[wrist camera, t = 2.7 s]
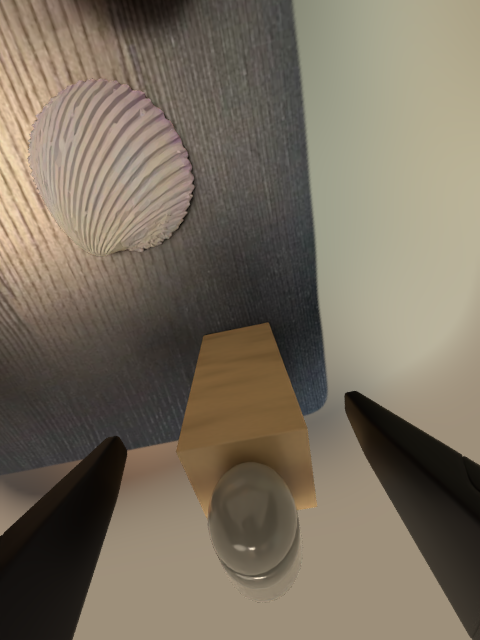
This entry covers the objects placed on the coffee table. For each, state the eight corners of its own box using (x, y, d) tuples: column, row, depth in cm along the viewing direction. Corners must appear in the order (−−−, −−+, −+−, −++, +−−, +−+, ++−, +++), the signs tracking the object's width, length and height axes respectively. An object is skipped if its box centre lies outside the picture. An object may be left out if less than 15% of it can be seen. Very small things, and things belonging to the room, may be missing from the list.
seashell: (-7, 236, 14) (-66, -14, 9) (57, 218, 19) (43, 44, 13) (157, 293, 16) (193, 110, 10) (179, 264, 20) (213, 125, 15)
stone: (295, 508, 13) (317, 612, 9) (229, 519, 13) (229, 625, 9) (281, 436, 10) (304, 537, 7) (202, 450, 11) (189, 556, 7)
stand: (278, 376, 23) (317, 507, 13) (219, 387, 23) (209, 525, 13) (268, 322, 21) (307, 428, 10) (203, 335, 21) (175, 452, 10)
